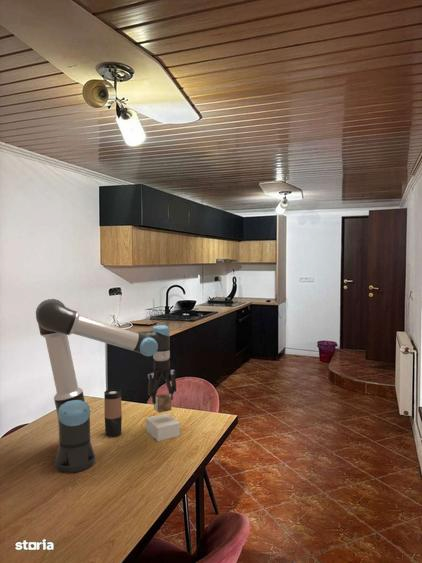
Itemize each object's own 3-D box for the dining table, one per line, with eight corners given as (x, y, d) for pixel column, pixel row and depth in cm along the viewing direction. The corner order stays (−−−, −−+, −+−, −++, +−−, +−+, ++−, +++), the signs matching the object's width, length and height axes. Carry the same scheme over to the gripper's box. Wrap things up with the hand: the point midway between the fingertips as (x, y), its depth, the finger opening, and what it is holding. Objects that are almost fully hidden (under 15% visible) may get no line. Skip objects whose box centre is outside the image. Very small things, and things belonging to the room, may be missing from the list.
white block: (157, 441, 177) (157, 428, 177) (145, 430, 189) (145, 417, 189) (180, 435, 183) (179, 422, 183) (167, 425, 195) (167, 413, 195)
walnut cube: (159, 412, 181) (159, 399, 181) (154, 408, 187) (153, 396, 186) (171, 410, 184) (171, 397, 184) (166, 406, 190) (165, 393, 189)
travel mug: (124, 431, 189) (123, 389, 188) (118, 438, 181) (118, 394, 180) (108, 430, 189) (107, 388, 189) (102, 437, 182) (101, 393, 181)
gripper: (145, 363, 176) (146, 415, 177) (183, 358, 186) (184, 407, 187) (139, 360, 183) (140, 410, 184) (176, 355, 193) (177, 402, 194)
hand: (162, 408), depth 186 cm, fingers closed on walnut cube, 6 cm apart
